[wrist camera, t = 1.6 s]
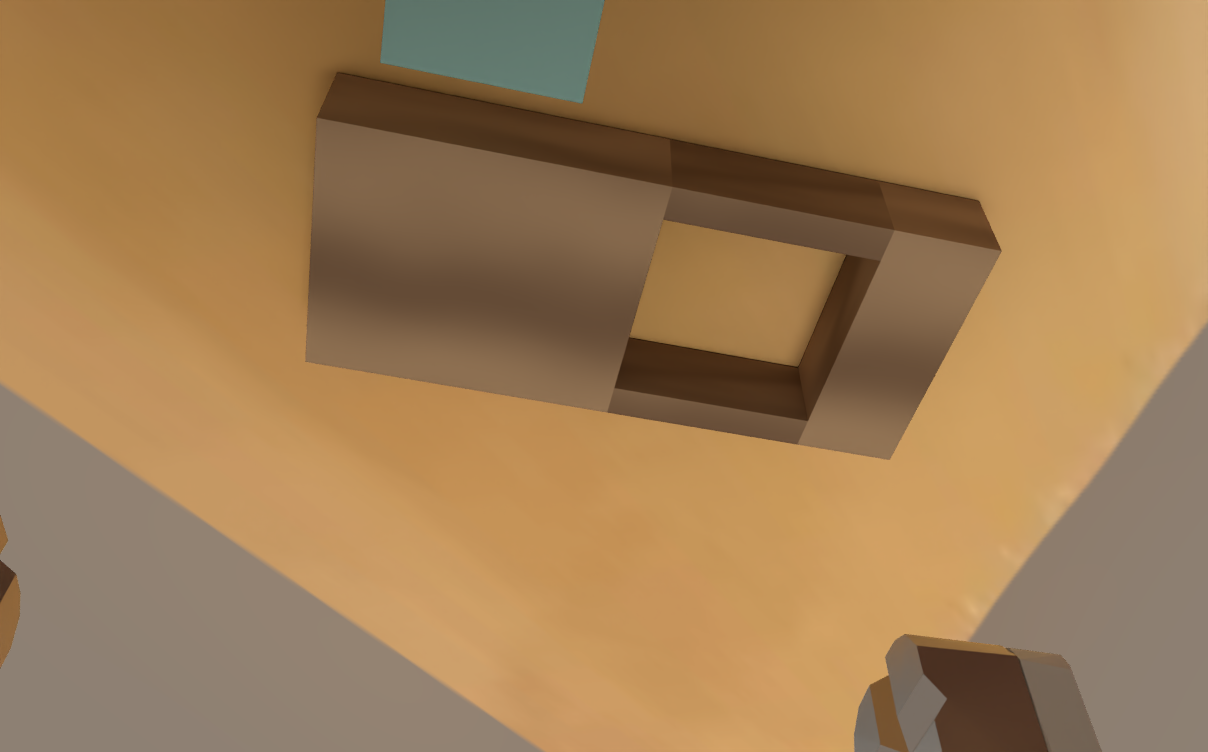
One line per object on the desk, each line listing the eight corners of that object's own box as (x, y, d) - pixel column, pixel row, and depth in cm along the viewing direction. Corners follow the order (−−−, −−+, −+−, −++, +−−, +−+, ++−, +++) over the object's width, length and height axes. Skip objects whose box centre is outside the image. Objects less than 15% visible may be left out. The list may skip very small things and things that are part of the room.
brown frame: (337, 72, 29) (316, 117, 27) (979, 201, 31) (1001, 250, 29) (323, 309, 34) (305, 361, 32) (876, 406, 36) (889, 459, 34)
